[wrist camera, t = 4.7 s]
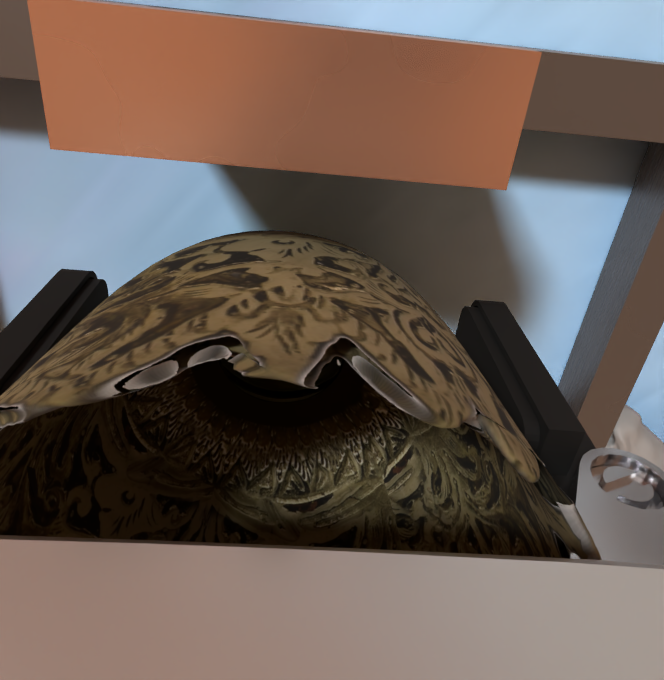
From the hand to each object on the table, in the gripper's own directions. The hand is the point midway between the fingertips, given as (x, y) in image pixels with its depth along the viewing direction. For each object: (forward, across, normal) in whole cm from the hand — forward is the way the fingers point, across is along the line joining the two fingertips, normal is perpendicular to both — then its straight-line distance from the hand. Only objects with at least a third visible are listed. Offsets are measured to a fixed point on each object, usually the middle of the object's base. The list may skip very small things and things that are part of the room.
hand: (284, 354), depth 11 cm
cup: (+2, 0, 0) cm, 2 cm away
